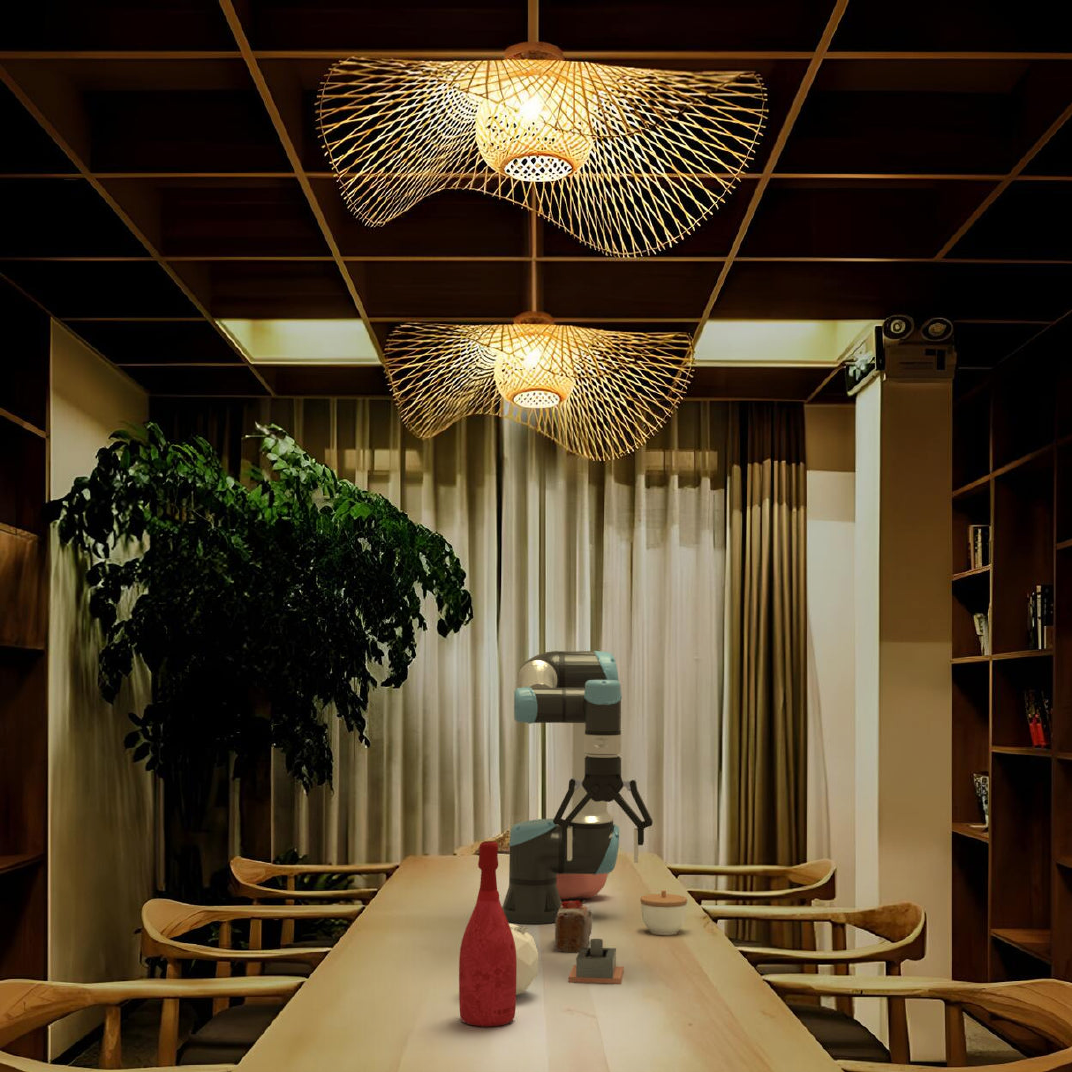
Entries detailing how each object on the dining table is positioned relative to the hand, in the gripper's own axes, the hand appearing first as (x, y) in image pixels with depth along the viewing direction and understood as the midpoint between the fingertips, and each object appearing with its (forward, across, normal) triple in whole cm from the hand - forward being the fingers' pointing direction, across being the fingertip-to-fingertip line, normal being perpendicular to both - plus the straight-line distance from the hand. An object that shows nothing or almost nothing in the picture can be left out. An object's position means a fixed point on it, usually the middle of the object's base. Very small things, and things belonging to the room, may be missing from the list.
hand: (602, 860), depth 255 cm
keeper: (+21, 0, -9) cm, 23 cm away
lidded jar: (+22, +11, +36) cm, 44 cm away
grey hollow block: (+20, 0, -9) cm, 22 cm away
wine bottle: (+20, -16, -43) cm, 50 cm away
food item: (+22, -8, +19) cm, 30 cm away
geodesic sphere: (+21, -16, -26) cm, 37 cm away
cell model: (+24, -14, +76) cm, 81 cm away
